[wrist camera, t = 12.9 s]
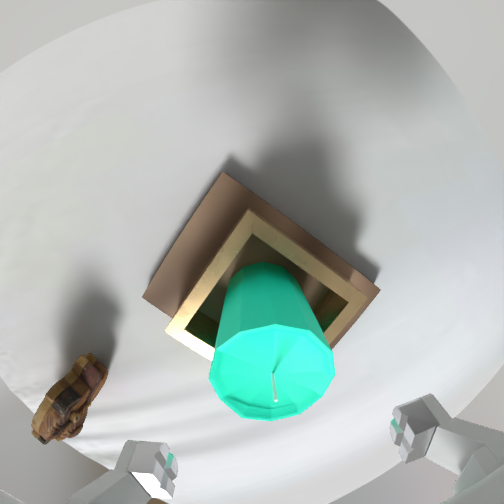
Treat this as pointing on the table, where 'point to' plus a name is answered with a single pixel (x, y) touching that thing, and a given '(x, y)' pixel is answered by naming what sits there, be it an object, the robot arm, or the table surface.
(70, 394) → the wooden carving
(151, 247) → the table surface
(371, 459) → the table surface
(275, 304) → the candle
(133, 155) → the table surface
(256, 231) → the candle stand
